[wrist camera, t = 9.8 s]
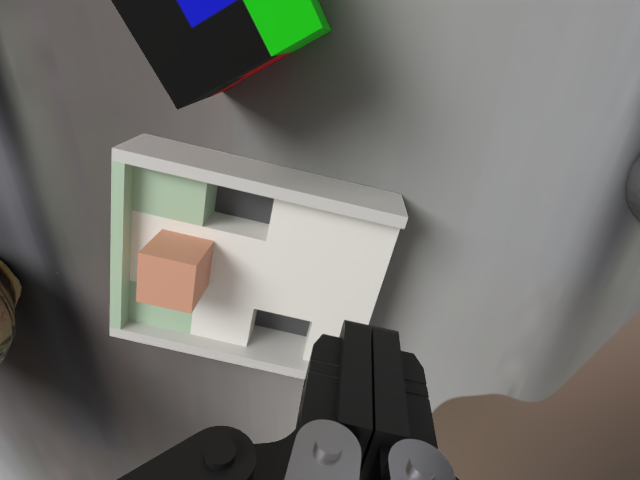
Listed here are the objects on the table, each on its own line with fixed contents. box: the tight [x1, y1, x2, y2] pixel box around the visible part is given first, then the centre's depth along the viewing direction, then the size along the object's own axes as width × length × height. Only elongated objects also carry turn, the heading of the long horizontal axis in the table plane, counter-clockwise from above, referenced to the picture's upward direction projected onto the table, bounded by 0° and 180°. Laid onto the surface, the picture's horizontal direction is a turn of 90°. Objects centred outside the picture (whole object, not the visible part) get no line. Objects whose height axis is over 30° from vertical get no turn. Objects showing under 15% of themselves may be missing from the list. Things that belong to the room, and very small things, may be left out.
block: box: [136, 229, 214, 314], centre depth 36 cm, size 4×4×4 cm
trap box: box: [110, 133, 408, 379], centre depth 39 cm, size 23×18×6 cm
